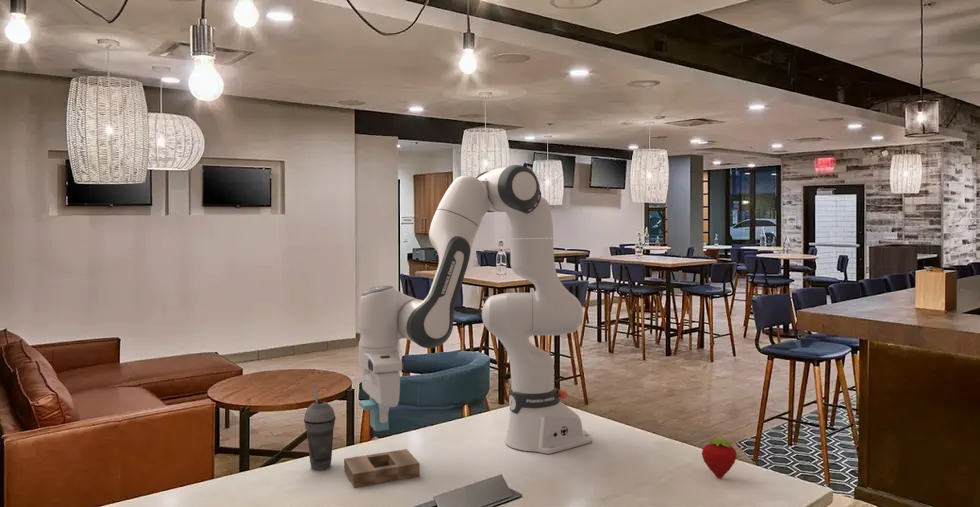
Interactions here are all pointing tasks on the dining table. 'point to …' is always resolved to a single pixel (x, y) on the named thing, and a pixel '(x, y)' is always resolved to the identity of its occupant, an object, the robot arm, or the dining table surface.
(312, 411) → the beverage cup
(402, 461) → the well block
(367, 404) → the bracket
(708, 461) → the strawberry
